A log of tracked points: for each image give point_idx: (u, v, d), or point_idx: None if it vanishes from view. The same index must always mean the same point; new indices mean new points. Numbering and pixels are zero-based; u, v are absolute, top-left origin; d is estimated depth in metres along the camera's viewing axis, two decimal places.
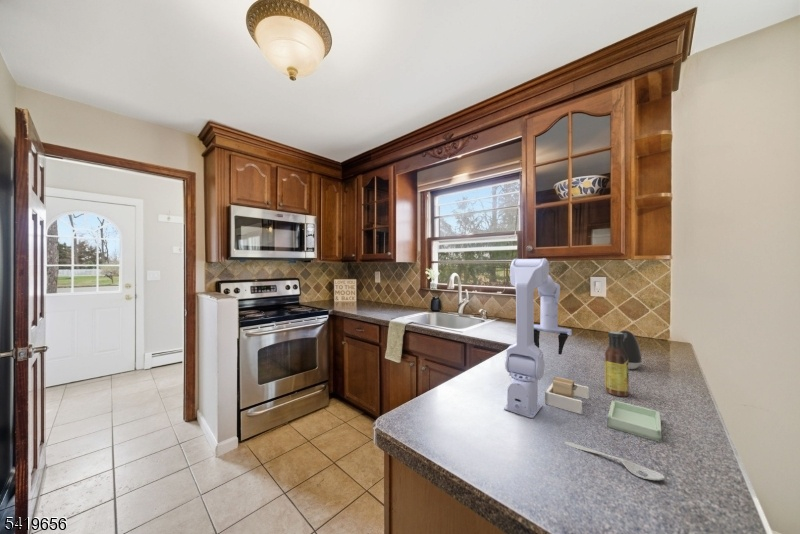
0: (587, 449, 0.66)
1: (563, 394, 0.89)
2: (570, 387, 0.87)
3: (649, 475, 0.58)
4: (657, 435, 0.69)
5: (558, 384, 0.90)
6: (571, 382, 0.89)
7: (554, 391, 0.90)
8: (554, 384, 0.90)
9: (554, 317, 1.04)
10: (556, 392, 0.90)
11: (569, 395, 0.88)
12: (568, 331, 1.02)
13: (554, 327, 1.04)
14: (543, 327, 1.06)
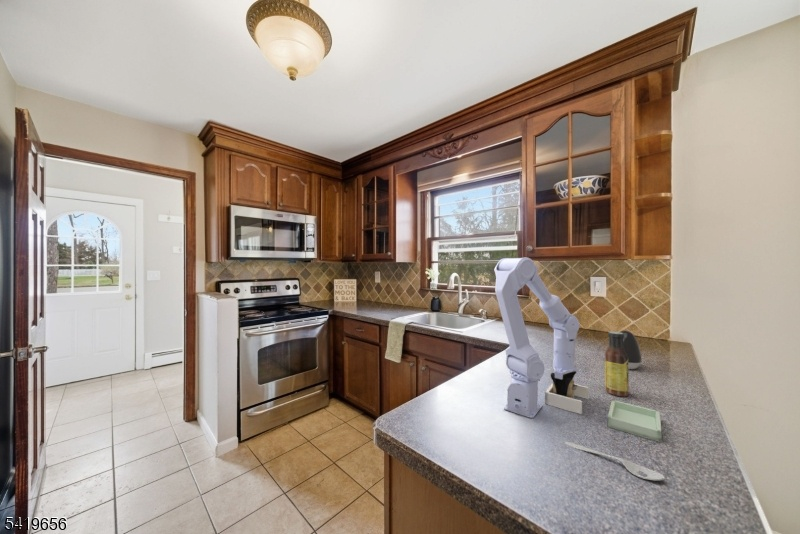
0: (587, 449, 0.65)
1: None
2: (570, 387, 0.87)
3: (649, 475, 0.58)
4: (657, 435, 0.69)
5: None
6: (571, 382, 0.89)
7: (554, 391, 0.90)
8: None
9: (556, 353, 0.90)
10: None
11: (569, 395, 0.88)
12: None
13: (555, 365, 0.90)
14: None
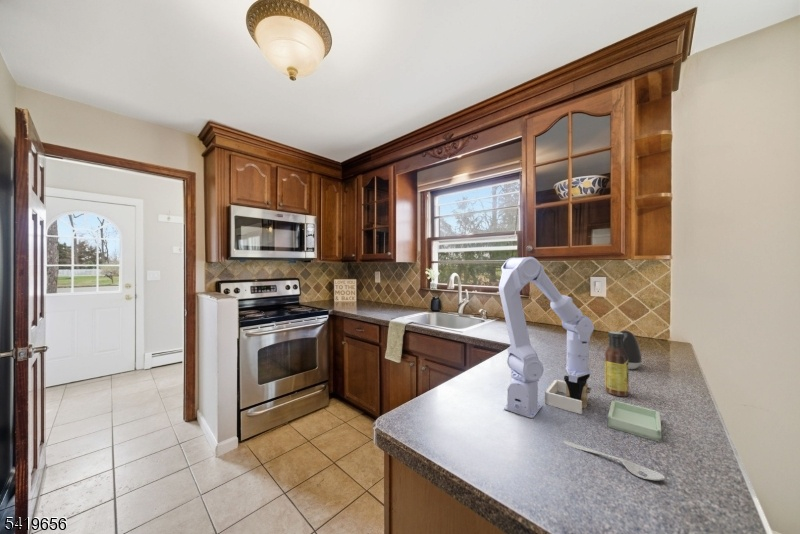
0: (587, 449, 0.65)
1: None
2: (584, 390, 0.85)
3: (649, 475, 0.58)
4: (657, 435, 0.69)
5: None
6: (585, 385, 0.87)
7: (567, 394, 0.88)
8: (567, 387, 0.88)
9: (569, 355, 0.88)
10: (569, 395, 0.88)
11: (583, 398, 0.85)
12: None
13: (569, 368, 0.88)
14: None
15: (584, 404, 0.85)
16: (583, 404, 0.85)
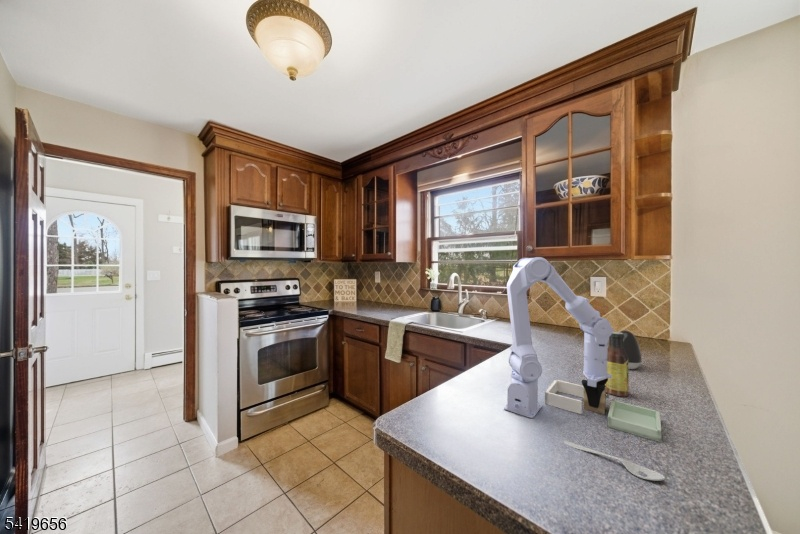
0: (587, 449, 0.65)
1: None
2: (603, 395, 0.82)
3: (649, 475, 0.58)
4: (657, 435, 0.69)
5: None
6: None
7: (585, 399, 0.85)
8: (585, 391, 0.85)
9: (587, 358, 0.85)
10: (587, 400, 0.85)
11: (602, 403, 0.82)
12: None
13: (587, 371, 0.85)
14: None
15: (603, 409, 0.82)
16: (601, 409, 0.82)
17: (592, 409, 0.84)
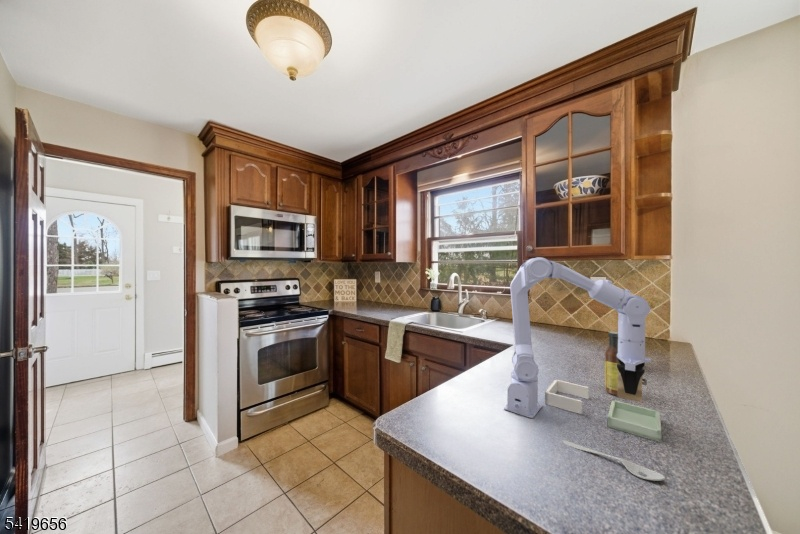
0: (587, 449, 0.65)
1: None
2: (640, 381, 0.75)
3: (649, 475, 0.58)
4: (657, 435, 0.69)
5: None
6: None
7: (619, 386, 0.78)
8: (619, 378, 0.78)
9: (622, 341, 0.77)
10: (621, 388, 0.77)
11: (639, 391, 0.75)
12: (625, 363, 0.74)
13: (622, 355, 0.77)
14: None
15: (640, 397, 0.75)
16: (639, 398, 0.75)
17: (628, 397, 0.77)
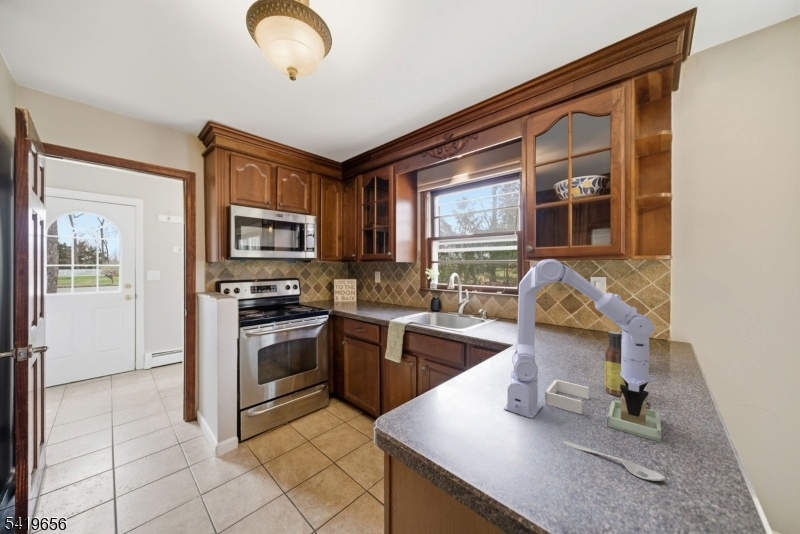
0: (587, 449, 0.65)
1: None
2: (644, 406, 0.74)
3: (649, 476, 0.58)
4: (657, 435, 0.69)
5: None
6: None
7: (623, 410, 0.77)
8: (623, 401, 0.77)
9: (626, 360, 0.77)
10: (625, 411, 0.77)
11: (643, 415, 0.74)
12: (628, 383, 0.73)
13: (625, 374, 0.77)
14: None
15: (644, 422, 0.74)
16: (642, 422, 0.74)
17: (631, 421, 0.76)
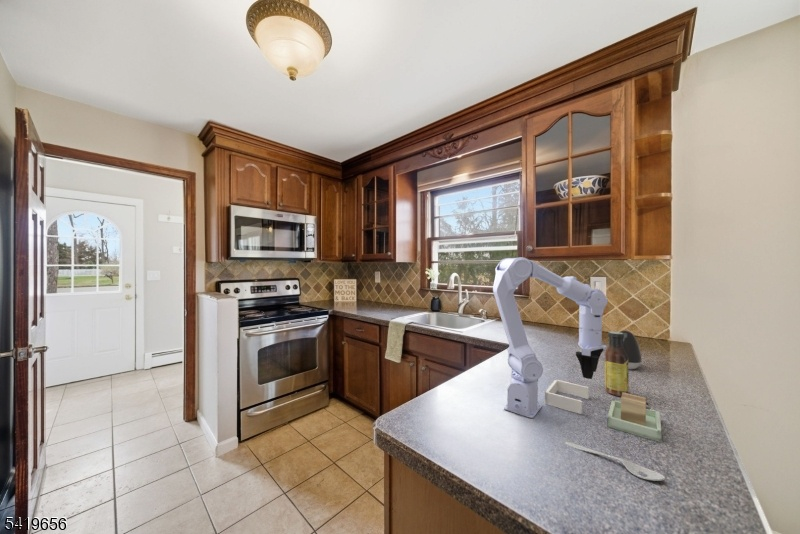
0: (587, 449, 0.65)
1: (635, 413, 0.75)
2: (644, 406, 0.74)
3: (649, 475, 0.58)
4: (657, 435, 0.69)
5: (627, 401, 0.76)
6: (643, 399, 0.76)
7: (623, 410, 0.77)
8: (623, 401, 0.77)
9: (582, 330, 0.86)
10: (625, 411, 0.77)
11: (643, 415, 0.74)
12: None
13: (581, 342, 0.86)
14: None
15: (644, 422, 0.74)
16: (642, 422, 0.74)
17: (631, 421, 0.76)
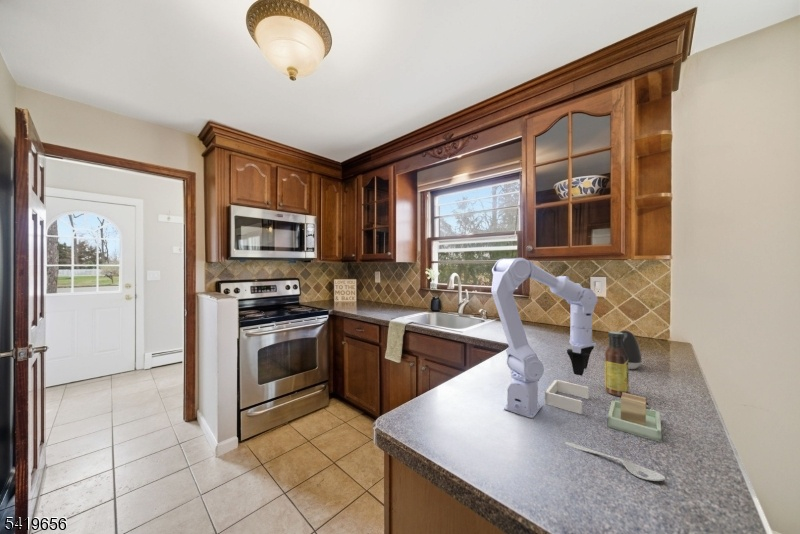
0: (587, 449, 0.65)
1: (635, 413, 0.75)
2: (644, 406, 0.74)
3: (649, 476, 0.58)
4: (657, 435, 0.69)
5: (627, 401, 0.76)
6: (643, 399, 0.76)
7: (623, 410, 0.77)
8: (623, 401, 0.77)
9: (573, 328, 0.89)
10: (625, 411, 0.77)
11: (643, 415, 0.74)
12: None
13: (572, 340, 0.89)
14: None
15: (644, 422, 0.74)
16: (642, 422, 0.74)
17: (631, 421, 0.76)
